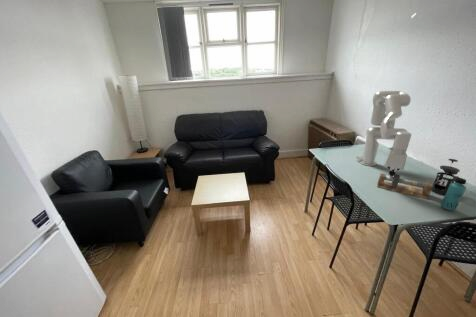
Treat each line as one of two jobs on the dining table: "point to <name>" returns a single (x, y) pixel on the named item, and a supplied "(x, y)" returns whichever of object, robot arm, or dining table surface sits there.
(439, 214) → the dining table surface
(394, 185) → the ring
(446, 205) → the beverage bottle
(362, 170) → the dining table surface
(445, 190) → the french press
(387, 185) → the pipe stand
